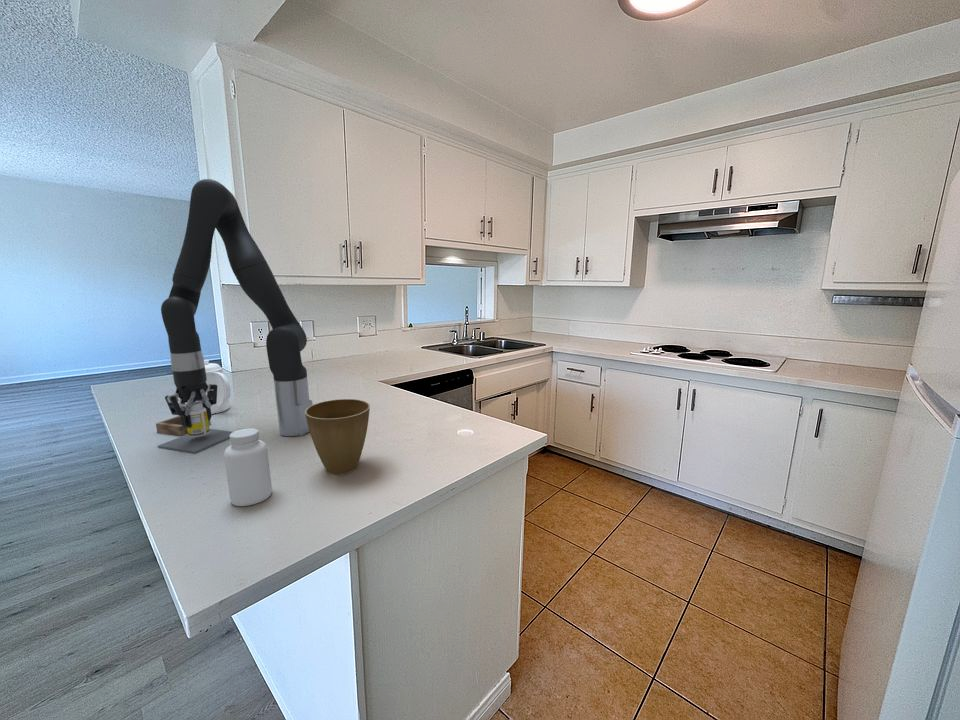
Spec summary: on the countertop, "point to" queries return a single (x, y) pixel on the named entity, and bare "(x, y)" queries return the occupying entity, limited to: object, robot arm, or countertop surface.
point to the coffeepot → (218, 386)
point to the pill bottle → (247, 468)
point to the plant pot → (338, 432)
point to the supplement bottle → (198, 420)
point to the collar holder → (172, 427)
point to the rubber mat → (197, 441)
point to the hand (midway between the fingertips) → (197, 423)
